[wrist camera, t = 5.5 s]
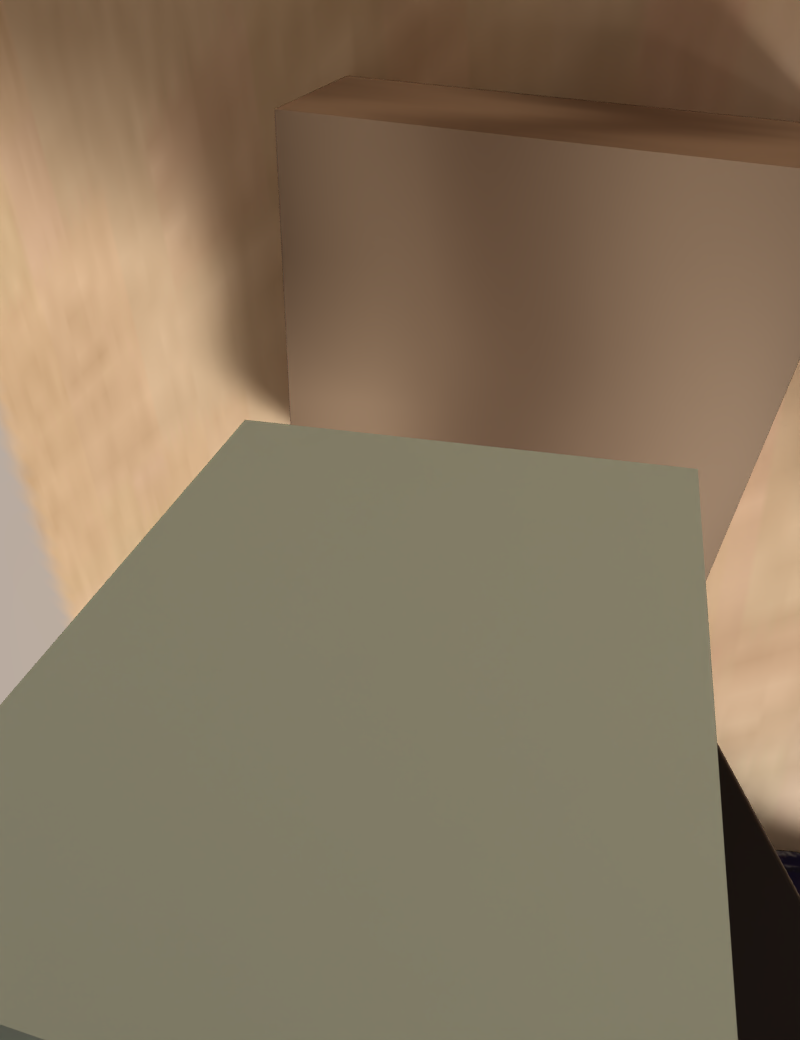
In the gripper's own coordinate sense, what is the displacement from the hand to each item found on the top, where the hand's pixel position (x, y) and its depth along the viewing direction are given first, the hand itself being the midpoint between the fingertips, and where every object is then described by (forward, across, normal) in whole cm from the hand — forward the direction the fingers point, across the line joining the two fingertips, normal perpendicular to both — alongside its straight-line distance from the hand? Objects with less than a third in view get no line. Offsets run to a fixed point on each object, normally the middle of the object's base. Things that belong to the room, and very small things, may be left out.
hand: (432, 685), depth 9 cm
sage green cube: (+1, 0, 0) cm, 1 cm away
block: (+11, 0, 0) cm, 11 cm away
